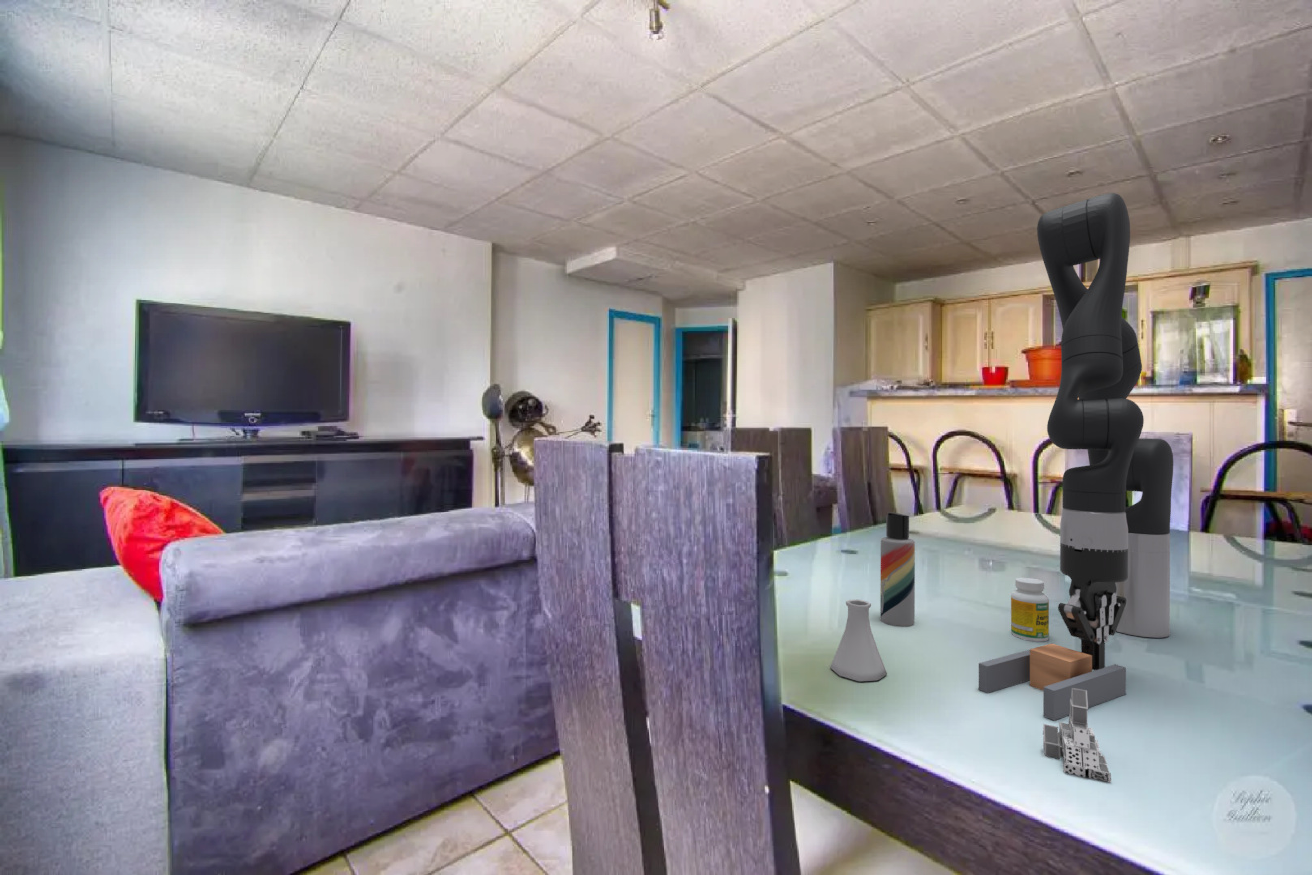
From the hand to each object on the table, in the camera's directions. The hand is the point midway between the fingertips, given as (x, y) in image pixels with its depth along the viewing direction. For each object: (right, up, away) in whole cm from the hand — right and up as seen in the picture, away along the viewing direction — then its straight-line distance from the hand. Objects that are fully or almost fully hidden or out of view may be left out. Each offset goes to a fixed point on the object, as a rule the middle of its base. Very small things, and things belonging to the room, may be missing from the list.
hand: (1092, 667), depth 80 cm
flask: (-32, -2, +2) cm, 32 cm away
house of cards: (-18, -2, -18) cm, 26 cm away
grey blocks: (-9, -2, -4) cm, 10 cm away
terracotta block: (-7, -2, -3) cm, 8 cm away
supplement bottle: (+2, -2, +17) cm, 17 cm away
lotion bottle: (-17, -2, +24) cm, 29 cm away
